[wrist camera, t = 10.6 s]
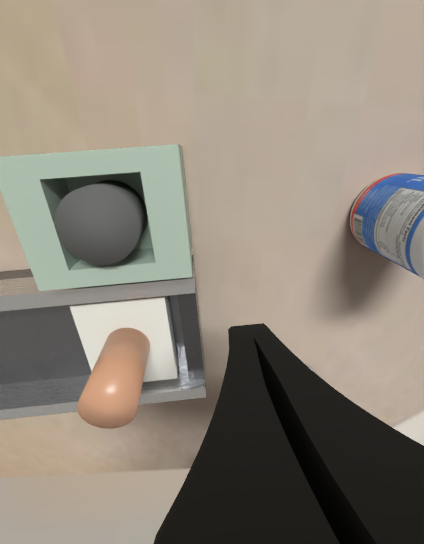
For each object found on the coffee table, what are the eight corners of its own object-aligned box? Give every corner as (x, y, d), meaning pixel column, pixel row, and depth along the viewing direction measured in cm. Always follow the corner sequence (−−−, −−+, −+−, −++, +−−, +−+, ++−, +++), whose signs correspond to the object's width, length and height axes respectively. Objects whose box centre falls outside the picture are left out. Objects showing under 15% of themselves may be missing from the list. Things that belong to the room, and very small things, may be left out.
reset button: (152, 242, 16) (144, 261, 13) (90, 247, 15) (68, 268, 13) (141, 177, 14) (129, 183, 11) (72, 182, 14) (43, 190, 11)
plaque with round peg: (178, 363, 21) (173, 445, 15) (102, 371, 21) (68, 457, 15) (166, 286, 18) (154, 350, 12) (78, 294, 18) (24, 363, 12)
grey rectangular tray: (203, 359, 24) (206, 397, 20) (-52, 386, 23) (-98, 430, 19) (193, 254, 19) (193, 278, 16) (-120, 282, 19) (-196, 314, 15)
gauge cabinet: (191, 244, 19) (192, 277, 14) (79, 254, 19) (39, 291, 14) (181, 146, 16) (178, 144, 11) (50, 155, 16) (-13, 157, 11)
